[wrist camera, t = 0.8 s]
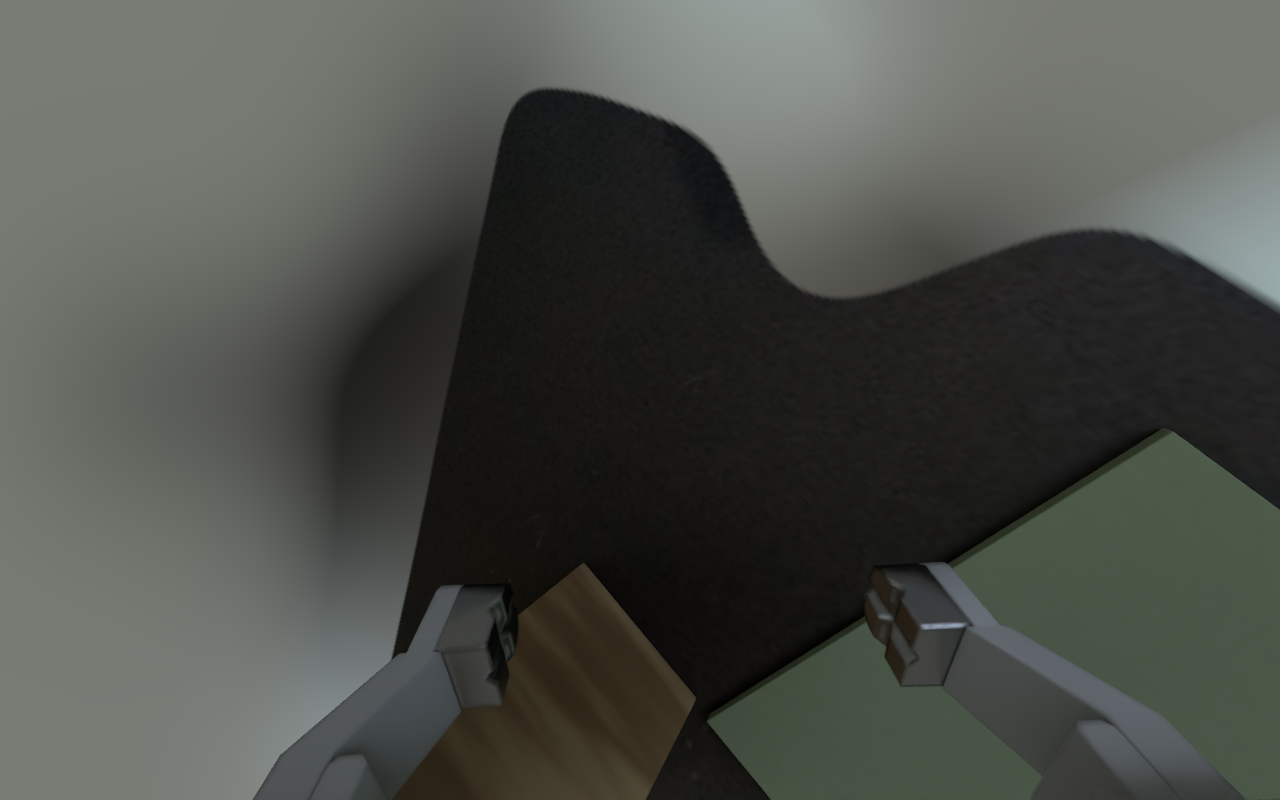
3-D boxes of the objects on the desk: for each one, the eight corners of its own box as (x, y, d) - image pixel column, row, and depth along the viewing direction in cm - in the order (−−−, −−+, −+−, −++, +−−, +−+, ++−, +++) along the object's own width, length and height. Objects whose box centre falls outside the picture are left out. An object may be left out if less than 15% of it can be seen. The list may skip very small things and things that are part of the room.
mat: (1162, 427, 15) (1172, 431, 14) (1688, 814, 12) (1726, 838, 11) (709, 713, 26) (706, 721, 25) (913, 959, 22) (914, 974, 22)
